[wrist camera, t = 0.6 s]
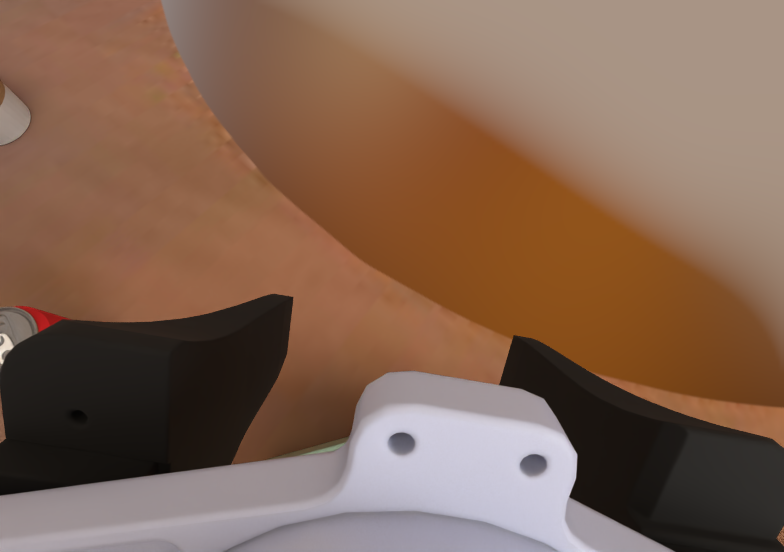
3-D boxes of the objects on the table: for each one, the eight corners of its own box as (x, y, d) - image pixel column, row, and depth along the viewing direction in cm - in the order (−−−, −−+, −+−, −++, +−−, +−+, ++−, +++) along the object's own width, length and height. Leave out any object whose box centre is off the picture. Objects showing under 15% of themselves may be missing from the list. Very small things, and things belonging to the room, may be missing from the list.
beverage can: (125, 323, 39) (18, 286, 28) (155, 367, 38) (56, 347, 27) (74, 361, 38) (-60, 338, 27) (103, 407, 37) (-24, 403, 26)
